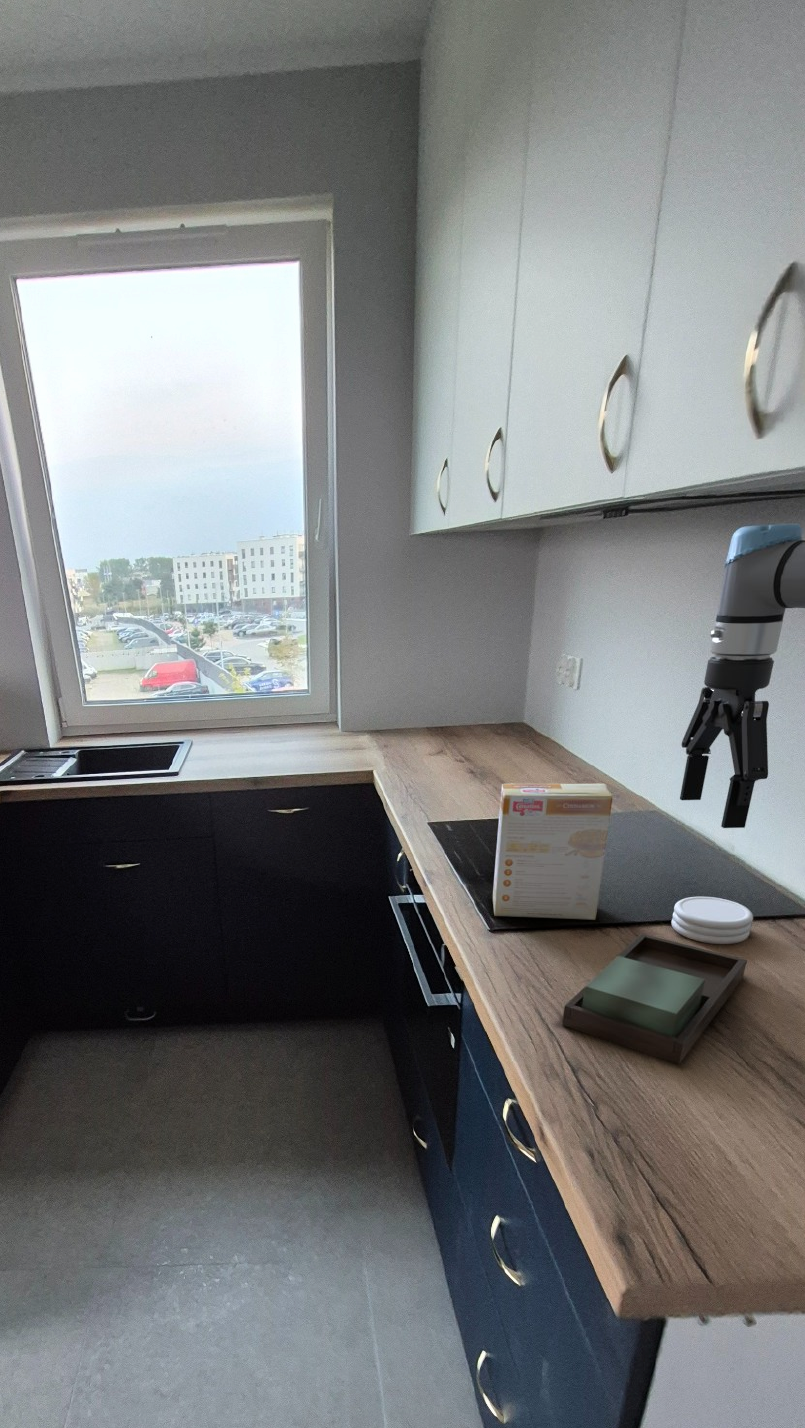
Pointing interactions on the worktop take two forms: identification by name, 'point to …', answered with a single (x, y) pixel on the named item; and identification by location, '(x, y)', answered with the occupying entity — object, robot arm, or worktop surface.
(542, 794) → the coffeecake box
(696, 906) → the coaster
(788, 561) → the robot arm
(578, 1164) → the worktop surface
